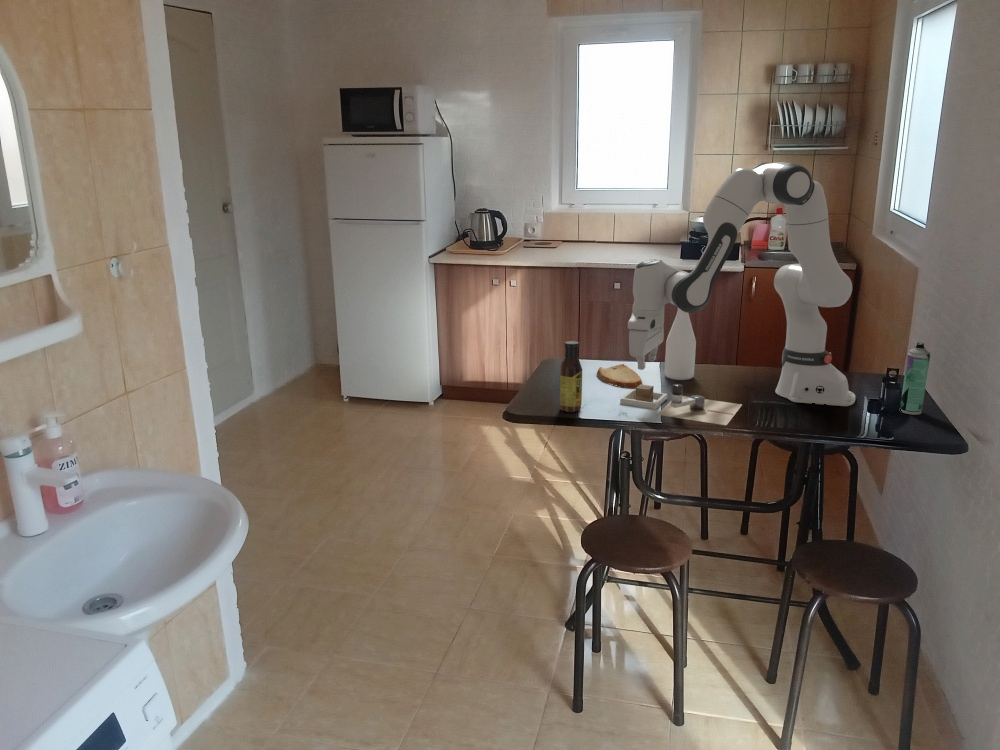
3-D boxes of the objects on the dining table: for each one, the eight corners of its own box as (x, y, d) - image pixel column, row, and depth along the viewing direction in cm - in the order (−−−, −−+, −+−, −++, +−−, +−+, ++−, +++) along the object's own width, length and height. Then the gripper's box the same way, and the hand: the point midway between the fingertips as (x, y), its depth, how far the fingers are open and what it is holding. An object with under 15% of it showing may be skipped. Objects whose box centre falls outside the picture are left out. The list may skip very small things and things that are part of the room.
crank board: (741, 409, 219) (742, 404, 218) (726, 430, 202) (726, 424, 201) (676, 400, 227) (677, 394, 227) (656, 419, 211) (656, 414, 210)
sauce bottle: (580, 414, 216) (581, 345, 210) (558, 412, 217) (559, 344, 211) (582, 406, 222) (584, 340, 216) (561, 405, 223) (562, 339, 218)
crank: (696, 404, 217) (698, 378, 215) (707, 408, 214) (709, 381, 212) (667, 411, 211) (668, 384, 209) (677, 415, 208) (678, 388, 206)
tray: (666, 403, 224) (667, 393, 223) (655, 413, 215) (656, 403, 214) (632, 398, 229) (632, 389, 228) (620, 408, 220) (620, 398, 219)
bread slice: (640, 390, 238) (640, 379, 237) (585, 383, 246) (586, 372, 245) (655, 376, 254) (655, 365, 253) (603, 370, 261) (603, 359, 260)
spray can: (920, 410, 217) (931, 341, 212) (922, 415, 212) (932, 346, 207) (899, 407, 219) (908, 340, 214) (900, 413, 214) (910, 344, 209)
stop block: (639, 400, 225) (640, 384, 223) (652, 402, 223) (653, 386, 221) (635, 404, 221) (635, 387, 220) (648, 406, 219) (649, 389, 218)
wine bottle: (688, 372, 256) (694, 284, 248) (697, 380, 247) (703, 288, 239) (661, 373, 256) (665, 284, 248) (668, 381, 247) (674, 289, 238)
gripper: (649, 310, 225) (647, 355, 229) (625, 324, 208) (624, 372, 212) (669, 311, 222) (668, 357, 226) (647, 326, 205) (646, 375, 209)
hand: (646, 364), depth 219 cm, fingers open, 8 cm apart
